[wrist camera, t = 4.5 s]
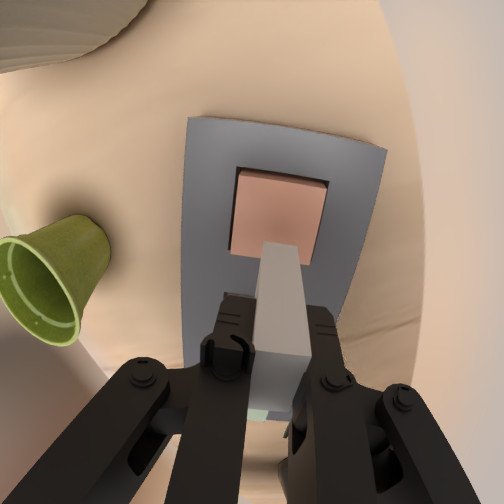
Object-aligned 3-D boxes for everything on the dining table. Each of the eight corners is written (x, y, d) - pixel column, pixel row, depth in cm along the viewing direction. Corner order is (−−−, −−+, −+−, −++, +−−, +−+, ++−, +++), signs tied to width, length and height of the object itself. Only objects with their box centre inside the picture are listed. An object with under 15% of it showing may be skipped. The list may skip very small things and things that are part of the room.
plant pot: (111, 187, 21) (42, 230, 13) (140, 286, 25) (98, 353, 17) (39, 204, 22) (-23, 244, 14) (69, 287, 26) (24, 339, 19)
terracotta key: (305, 245, 21) (309, 265, 18) (236, 235, 21) (230, 253, 18) (319, 178, 18) (326, 189, 16) (243, 166, 18) (238, 175, 16)
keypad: (291, 401, 31) (291, 421, 29) (192, 387, 32) (187, 407, 29) (372, 143, 18) (387, 149, 15) (200, 116, 18) (187, 117, 15)
